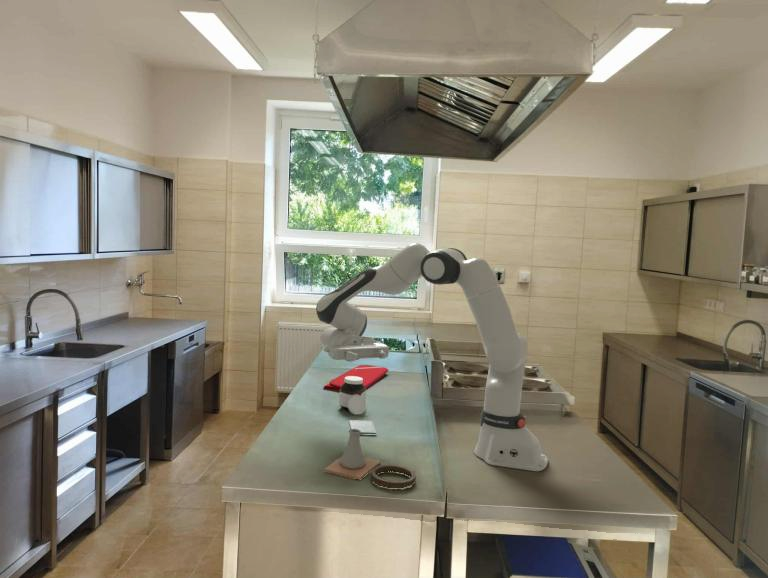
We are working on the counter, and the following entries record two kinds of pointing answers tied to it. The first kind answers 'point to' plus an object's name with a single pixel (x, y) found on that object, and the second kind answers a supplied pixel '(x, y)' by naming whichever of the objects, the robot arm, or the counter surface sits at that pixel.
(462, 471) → the counter surface
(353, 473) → the terracotta pad
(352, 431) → the flask
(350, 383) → the spread jar
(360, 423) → the hard drive
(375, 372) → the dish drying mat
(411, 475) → the ring holder
